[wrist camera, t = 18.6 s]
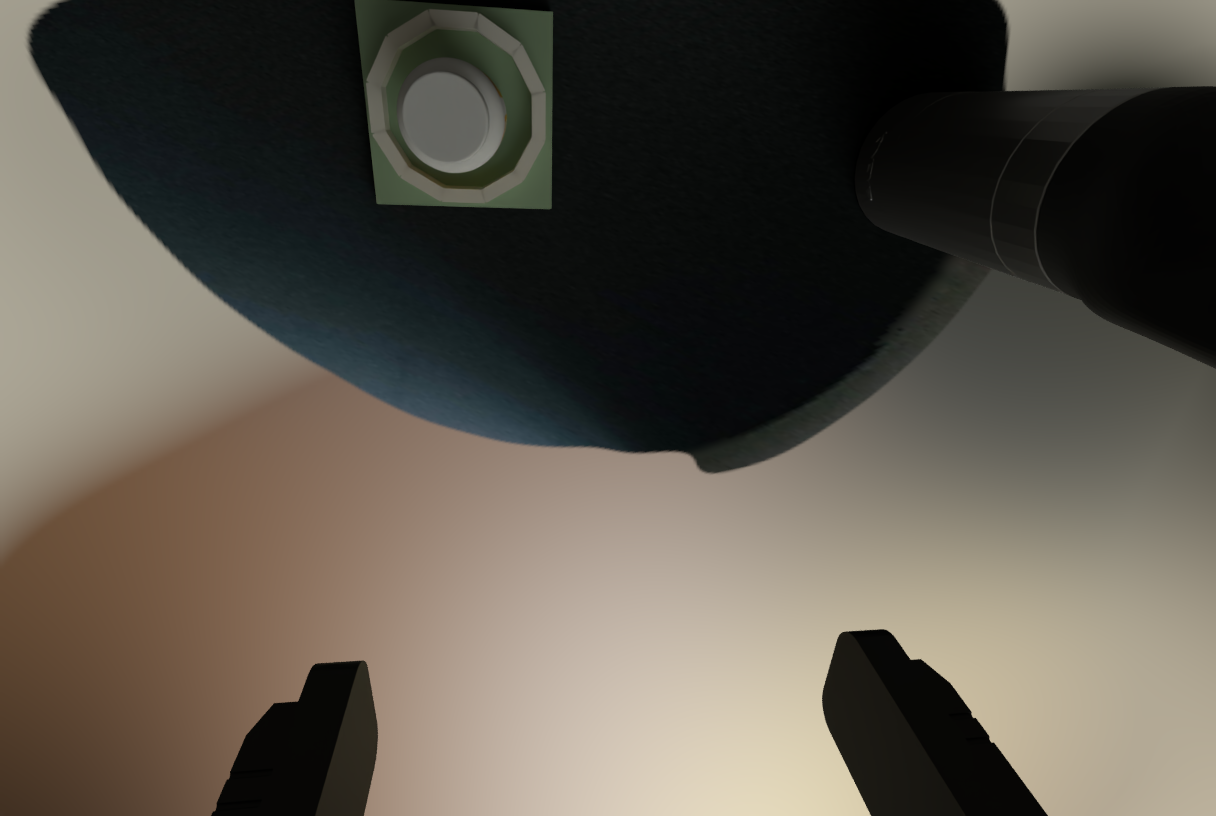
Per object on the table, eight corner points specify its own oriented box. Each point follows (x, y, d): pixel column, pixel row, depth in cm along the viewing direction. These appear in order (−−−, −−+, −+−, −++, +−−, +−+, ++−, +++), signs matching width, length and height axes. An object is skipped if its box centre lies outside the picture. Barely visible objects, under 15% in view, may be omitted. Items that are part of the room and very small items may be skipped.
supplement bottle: (404, 72, 36) (367, 64, 28) (494, 56, 37) (486, 42, 28) (431, 169, 39) (405, 189, 30) (516, 153, 39) (514, 168, 30)
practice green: (552, 14, 37) (554, 8, 35) (550, 206, 42) (552, 212, 39) (358, 0, 35) (347, -7, 33) (380, 201, 40) (371, 207, 38)
